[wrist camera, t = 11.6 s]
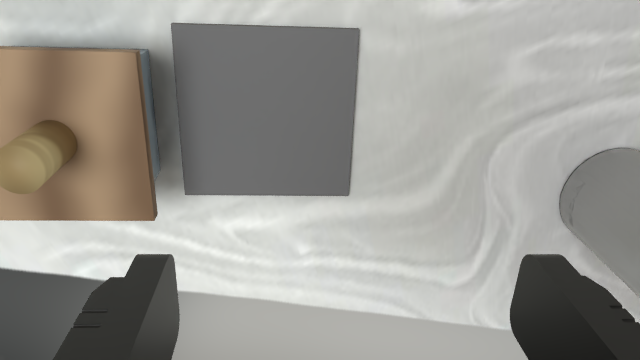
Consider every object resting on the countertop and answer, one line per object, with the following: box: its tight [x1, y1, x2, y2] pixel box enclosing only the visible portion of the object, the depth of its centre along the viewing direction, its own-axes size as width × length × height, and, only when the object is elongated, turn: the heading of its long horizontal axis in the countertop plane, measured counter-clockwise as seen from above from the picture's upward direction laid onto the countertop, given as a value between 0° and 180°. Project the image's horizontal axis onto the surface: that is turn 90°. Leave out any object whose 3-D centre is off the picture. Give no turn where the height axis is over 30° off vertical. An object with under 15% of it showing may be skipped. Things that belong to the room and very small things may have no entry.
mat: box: [171, 23, 359, 196], centre depth 41 cm, size 14×14×1 cm
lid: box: [0, 46, 158, 221], centre depth 32 cm, size 12×12×6 cm
